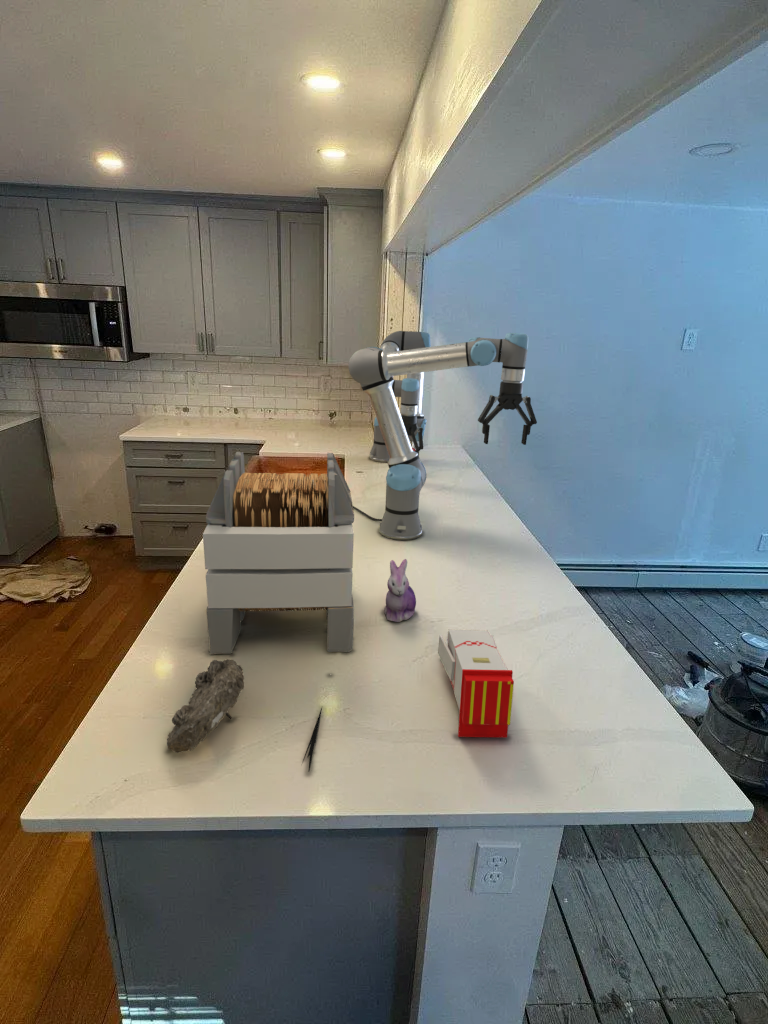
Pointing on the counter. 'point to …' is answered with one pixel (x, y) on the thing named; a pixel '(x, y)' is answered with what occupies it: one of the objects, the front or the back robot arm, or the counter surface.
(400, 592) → the figurine
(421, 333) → the back robot arm
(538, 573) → the counter surface
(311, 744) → the feather
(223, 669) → the fossil
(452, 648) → the toy
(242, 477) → the record crate stand
